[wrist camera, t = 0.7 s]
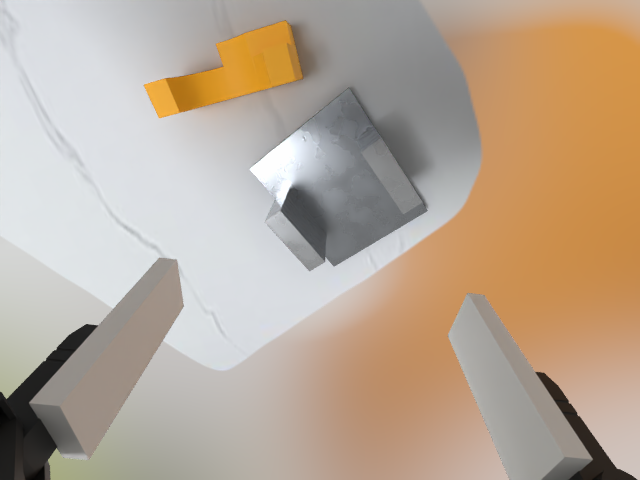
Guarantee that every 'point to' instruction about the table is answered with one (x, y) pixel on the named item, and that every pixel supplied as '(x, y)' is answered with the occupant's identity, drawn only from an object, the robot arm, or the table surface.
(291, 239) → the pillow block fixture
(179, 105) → the orange angled block
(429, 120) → the table surface
